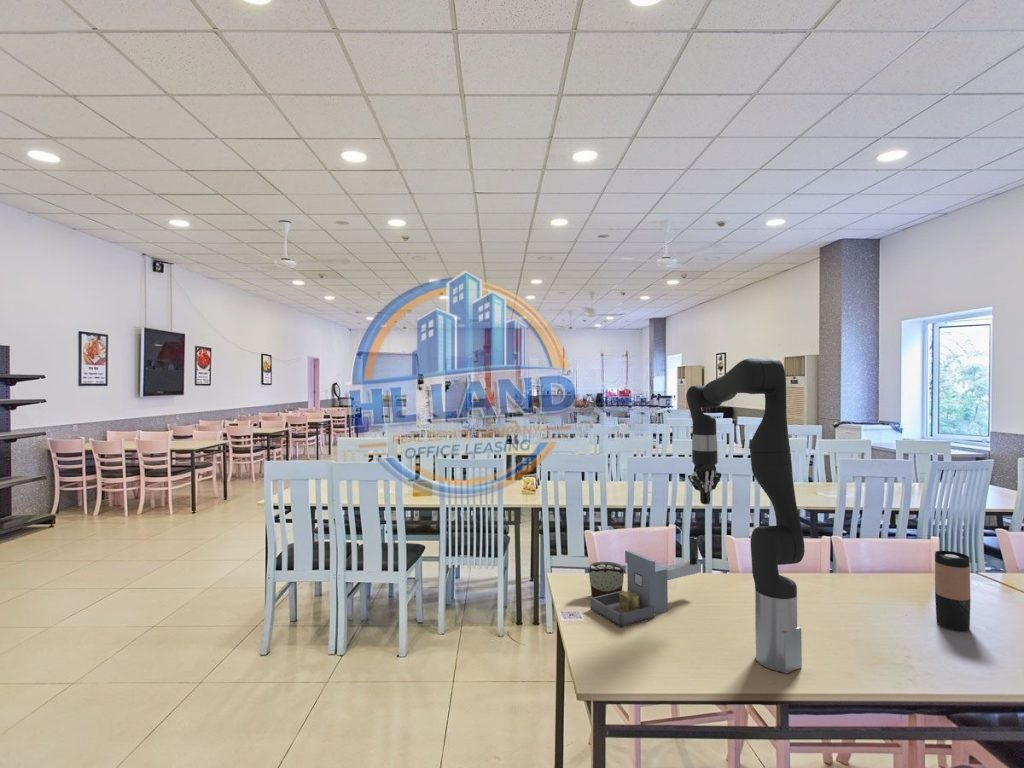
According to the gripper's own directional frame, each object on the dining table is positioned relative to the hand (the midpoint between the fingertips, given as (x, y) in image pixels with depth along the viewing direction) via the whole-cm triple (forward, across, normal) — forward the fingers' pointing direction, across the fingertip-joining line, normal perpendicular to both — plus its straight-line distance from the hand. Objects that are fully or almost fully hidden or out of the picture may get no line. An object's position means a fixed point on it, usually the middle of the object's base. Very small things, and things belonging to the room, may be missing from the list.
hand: (705, 503), depth 166 cm
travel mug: (+31, +47, -45) cm, 72 cm away
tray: (+31, -29, +6) cm, 43 cm away
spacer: (+28, -24, +6) cm, 37 cm away
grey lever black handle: (+23, -10, +6) cm, 26 cm away
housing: (+31, -19, +6) cm, 37 cm away
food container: (+31, -24, +20) cm, 44 cm away
